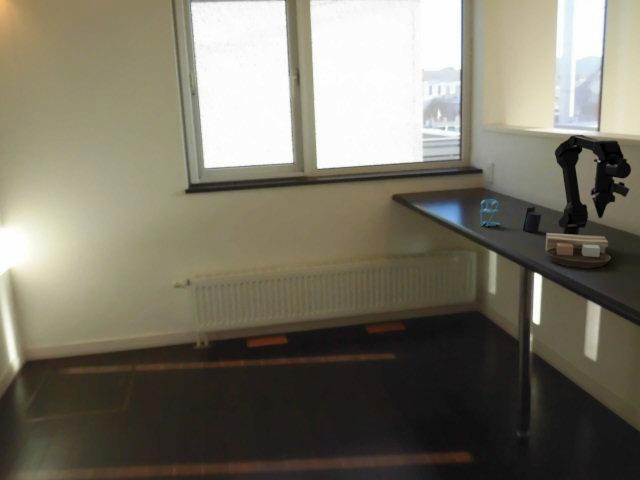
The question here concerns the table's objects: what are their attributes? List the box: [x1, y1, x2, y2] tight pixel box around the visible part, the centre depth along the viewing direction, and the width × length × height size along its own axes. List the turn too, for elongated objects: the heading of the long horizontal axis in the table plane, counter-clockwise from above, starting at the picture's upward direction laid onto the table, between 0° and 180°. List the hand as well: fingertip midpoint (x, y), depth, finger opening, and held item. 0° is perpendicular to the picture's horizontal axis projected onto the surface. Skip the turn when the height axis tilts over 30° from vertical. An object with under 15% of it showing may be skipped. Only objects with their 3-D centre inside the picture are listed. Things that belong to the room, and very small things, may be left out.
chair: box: [478, 198, 501, 228], centre depth 271 cm, size 8×8×12 cm
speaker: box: [522, 206, 542, 233], centre depth 258 cm, size 8×6×10 cm
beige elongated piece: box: [545, 232, 609, 254], centre depth 219 cm, size 11×20×6 cm, turn 72°
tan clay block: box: [556, 243, 573, 255], centre depth 208 cm, size 5×5×3 cm
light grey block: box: [582, 244, 600, 257], centre depth 205 cm, size 5×5×3 cm
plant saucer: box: [546, 248, 611, 269], centre depth 208 cm, size 21×21×3 cm
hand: (600, 217), depth 218 cm, fingers closed
